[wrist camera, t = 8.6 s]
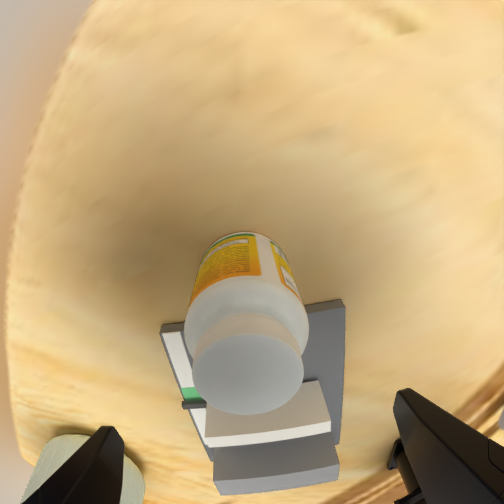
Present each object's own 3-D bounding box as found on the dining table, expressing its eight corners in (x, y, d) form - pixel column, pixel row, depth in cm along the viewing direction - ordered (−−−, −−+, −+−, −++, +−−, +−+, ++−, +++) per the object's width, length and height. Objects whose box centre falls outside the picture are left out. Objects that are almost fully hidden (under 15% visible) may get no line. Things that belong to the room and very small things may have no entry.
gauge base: (336, 436, 26) (348, 477, 21) (211, 453, 26) (209, 495, 22) (340, 299, 21) (366, 343, 16) (162, 325, 21) (146, 373, 16)
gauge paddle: (318, 391, 22) (330, 431, 18) (185, 407, 22) (179, 448, 18) (318, 379, 21) (331, 420, 18) (181, 397, 22) (174, 438, 18)
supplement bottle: (302, 249, 19) (353, 344, 10) (265, 320, 21) (283, 436, 12) (218, 215, 18) (202, 293, 9) (187, 292, 20) (158, 404, 11)
